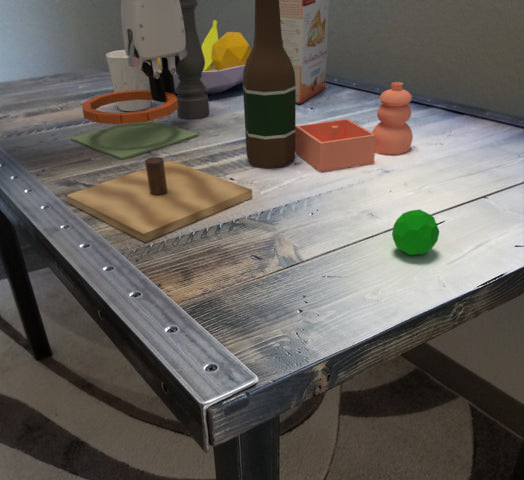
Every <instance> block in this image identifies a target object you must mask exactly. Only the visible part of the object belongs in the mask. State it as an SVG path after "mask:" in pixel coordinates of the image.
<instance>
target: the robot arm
mask: <svg viewBox="0 0 524 480" xmlns="http://www.w3.org/2000/svg"><path fill="white" fill-rule="evenodd" d="M120 18H121V31H122V40H123V41H122V42H123V46H124V48H123V49H124V50H125V52H126V54H127V55H128V56H129V60H128V65H129V66H130V67H134V68H138V69H141V70H142V71H143V72H144V73H145V75H146V76H147V77H149V83H150V90H151V95H152V99H153V100H152V101H154V102H159V103H162V104H164V102H165V101H166V98H165V92H168V93H172V94H174V95H175V96H176V93H175V87H174V78H173V75H174V74H175V73H176V67H177V65H178V63H179V61H181V60H182V59H183V58H184V57H186V56H187V50H186V48H185V46H186V38H185V28H184V21H183V15H182V10H181V5H180V1H179V0H120ZM139 57H140V58H141V59H142V61H140V59H139ZM159 57H160V65H161V71H162V73H160V72H159V66H158V60H157V58H159ZM167 58H168V59H167Z"/></svg>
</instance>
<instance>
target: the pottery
mask: <svg viewBox="0 0 524 480" xmlns="http://www.w3.org/2000/svg"><path fill="white" fill-rule="evenodd" d="M403 84H404V83H403V82H401V81H393V82H391V85H390V86H391V87H390V88H389V89H386V90H385V91H383V92H381V94H380V96H379V101H380V103H381V104H380V106H379V107H378V109H377V112H376V116H377V118H378V120H379V123H377V124H376V125H375V126H374V128H373V129H372V131H370V130H368V129H367V128H365V127H363V126H361V125H359V124H357V123H355V122H354V121H352V120H350V119H349V118H343V119H335V120H328V121H322V122H315V123H308V124H300V125H295V155H297V156H299V158H301V159H303V160H304V161H305V162H306V163H308V164H309V166H311V167H312V168H314V169H315V170H316V171H317V172H318V173H323V172H328V171H335V170H342V169H347V168H354V167H360V166H365V165H372V164H375V155H376V153H377V154H382V155H390V154H394V155H400V154H399V153H402V154H405V153H408V152H409V151H410V148H411V146H412V143H413V139H414V138H413V136H414V135H413V131H412V129H411V126H410V125H409V124H408V123H407V122H408V121H410V119H411V116H412V108H411V106H410V105H409V104H410V103H411V102H412V99H413V98H412V94H411V92H409V91H408V90H406V89H403ZM408 150H409V151H408ZM404 152H405V153H404Z"/></svg>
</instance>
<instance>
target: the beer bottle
mask: <svg viewBox="0 0 524 480" xmlns="http://www.w3.org/2000/svg"><path fill="white" fill-rule="evenodd" d="M251 50H252V51H251V53H250V55H249V56H248V58H247V60H246V64H245V68H244V71H243V82H242V92H243V110H244V111H243V113H244V133H245V134H244V135H245V149H246V151H245V152H246V158H247V159H248V162H249V163H250V166H251V167H257V168H261V169H267V170H268V169H277V168H284V167H287V166H289V165H290V164H291V163H293V162H294V161H295V159H296V153H295V126H296V115H297V114H296V111H297V110H296V106H297V105H296V104H297V103H296V85H295V72H294V69H293V66H292V63H291V60H290V58H289V56H288V55H287V53H286V51H285V50H284V48H283V42H282V36H281V21H280V6H279V0H254V37H253V44H252V48H251Z"/></svg>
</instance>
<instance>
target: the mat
mask: <svg viewBox="0 0 524 480" xmlns="http://www.w3.org/2000/svg"><path fill="white" fill-rule="evenodd" d="M197 137H199V133H197V132H195V131H194V132H193V131H190V130H187V129H183V128H181V127H177V126H174V125H171V124H167V123H163V122H160V121H158V120H151V121H147V122H138V123H129V124H123V123H122V124H114V125H112V126H108V127H104V128H101V129H98V130H94V131H90V132H87V133H83V134H80V135H76V136H72V137H70V141H73V142H76V143H78V144H80V145H83V146H86V147H88V148H91V149H93V150H95V151H98V152H101V153H104V154H106V155H109V156H111V157H114V158H117V159H119V160H122V161H123V160H127V159H130V158H132V157H136V156H139V155H142V154H146V153H148V152H152V151H155V150H159V149H162V148H164V147H167V146H172V145H174V144H178V143H180V142H184V141H187V140H190V139H193V138H197Z"/></svg>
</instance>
